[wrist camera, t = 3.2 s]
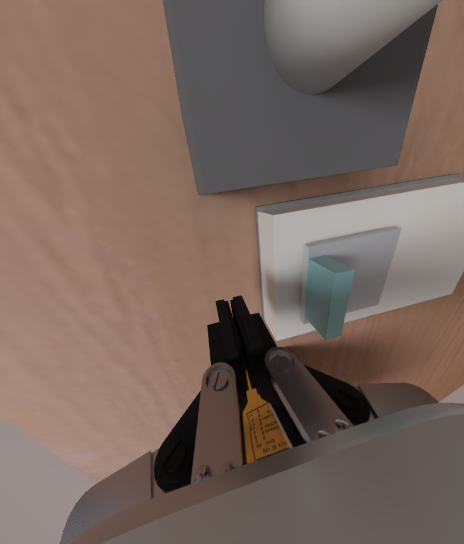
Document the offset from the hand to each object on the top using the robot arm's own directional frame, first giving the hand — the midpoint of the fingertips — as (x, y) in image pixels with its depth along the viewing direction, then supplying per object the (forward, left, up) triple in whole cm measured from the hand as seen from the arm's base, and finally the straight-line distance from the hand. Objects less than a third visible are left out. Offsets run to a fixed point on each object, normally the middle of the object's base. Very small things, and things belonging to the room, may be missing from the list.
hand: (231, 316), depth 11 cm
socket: (-14, 0, -5) cm, 15 cm away
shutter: (-9, 0, -1) cm, 9 cm away
